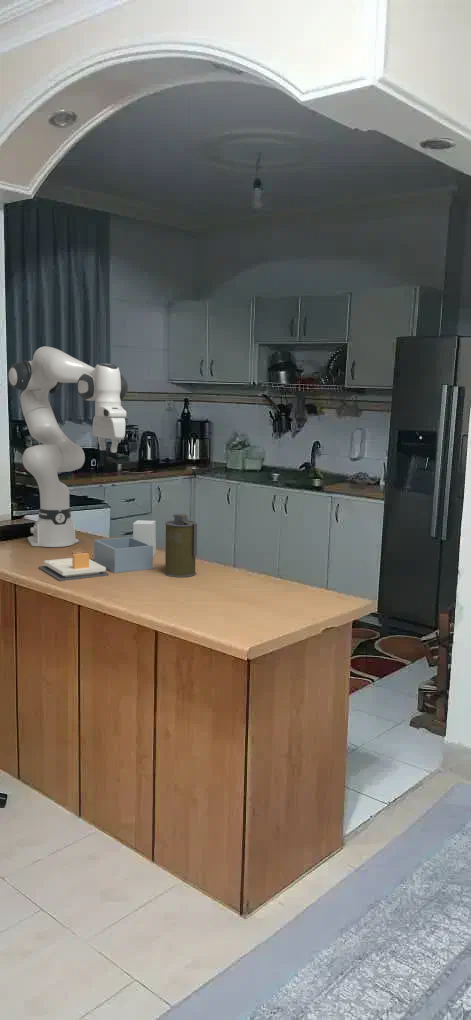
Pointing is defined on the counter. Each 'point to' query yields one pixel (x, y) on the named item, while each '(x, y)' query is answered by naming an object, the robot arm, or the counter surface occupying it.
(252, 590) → the counter surface
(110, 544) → the grey storage box
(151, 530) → the supplement box
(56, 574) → the mat
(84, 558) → the lid
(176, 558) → the canister
